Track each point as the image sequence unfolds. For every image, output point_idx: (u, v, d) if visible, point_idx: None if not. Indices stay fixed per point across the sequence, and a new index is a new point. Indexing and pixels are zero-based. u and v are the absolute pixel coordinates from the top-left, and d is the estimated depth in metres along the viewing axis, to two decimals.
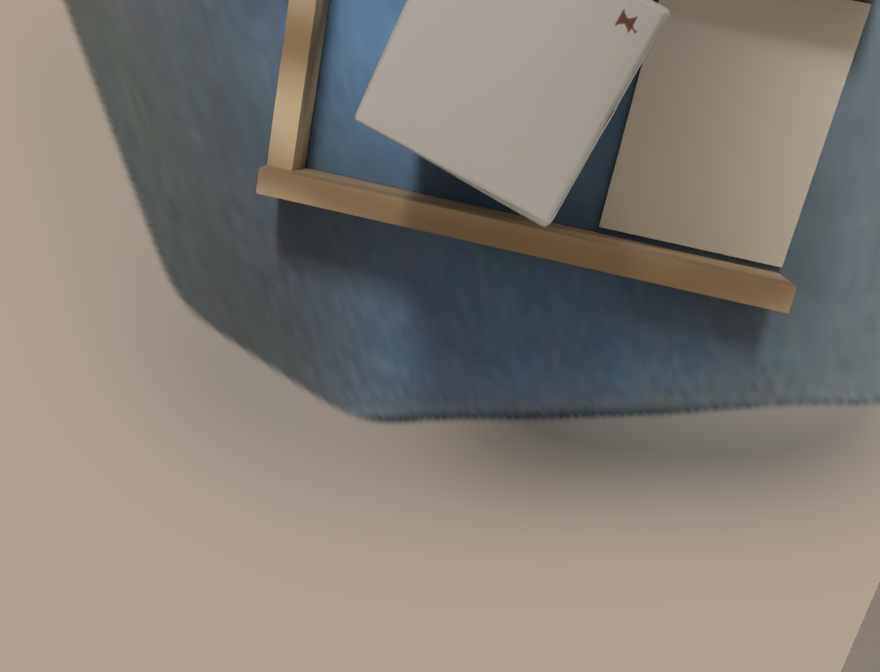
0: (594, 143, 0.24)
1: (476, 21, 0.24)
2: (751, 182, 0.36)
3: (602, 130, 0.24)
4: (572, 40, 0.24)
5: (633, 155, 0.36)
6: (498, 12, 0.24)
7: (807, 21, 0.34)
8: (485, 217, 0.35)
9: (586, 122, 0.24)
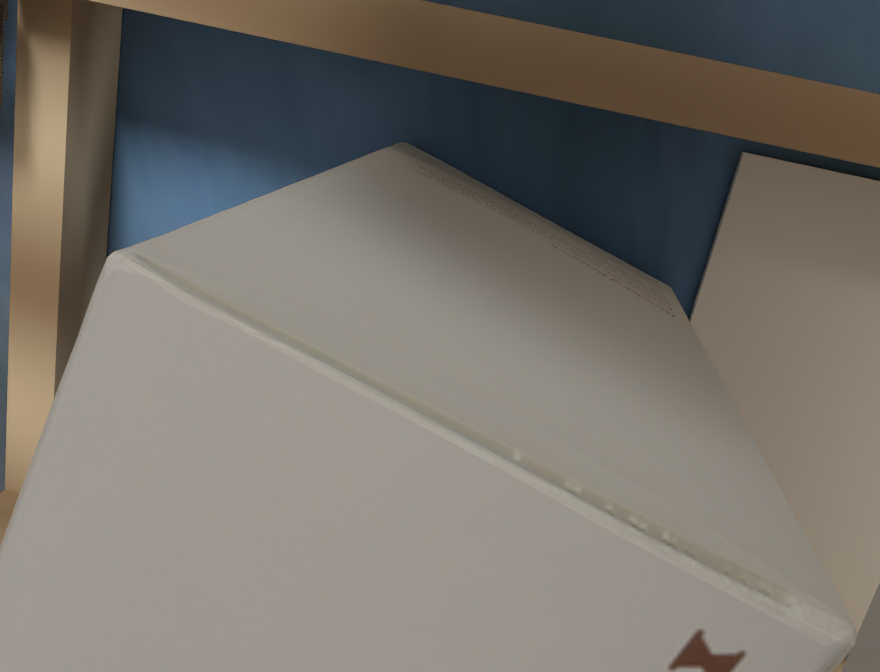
0: None
1: (215, 617, 0.07)
2: None
3: None
4: None
5: None
6: (283, 599, 0.07)
7: None
8: None
9: None
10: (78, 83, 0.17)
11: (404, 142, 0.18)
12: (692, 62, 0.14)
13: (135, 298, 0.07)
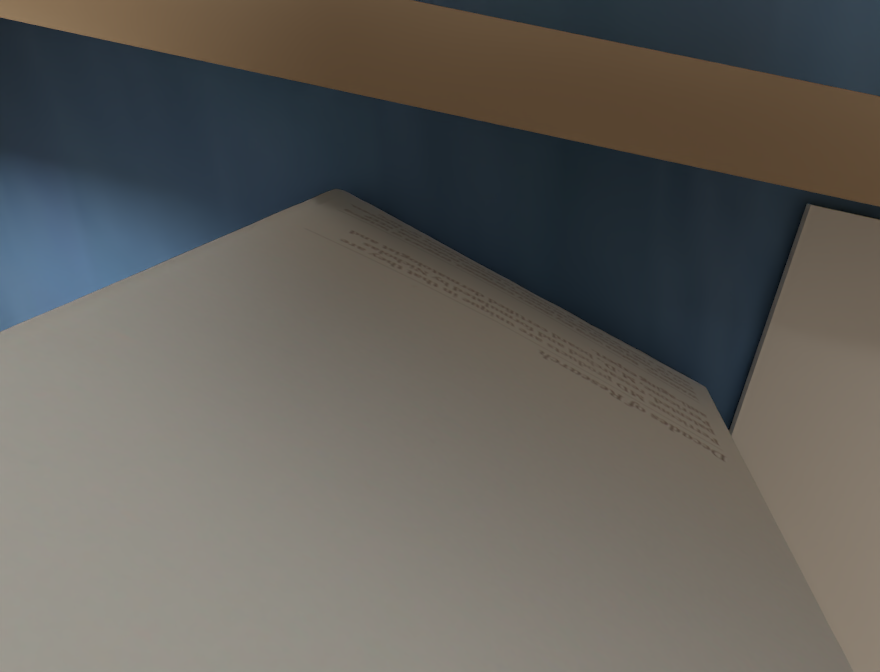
0: None
1: None
2: None
3: None
4: None
5: None
6: None
7: None
8: None
9: None
10: None
11: (339, 189, 0.13)
12: (754, 81, 0.09)
13: None
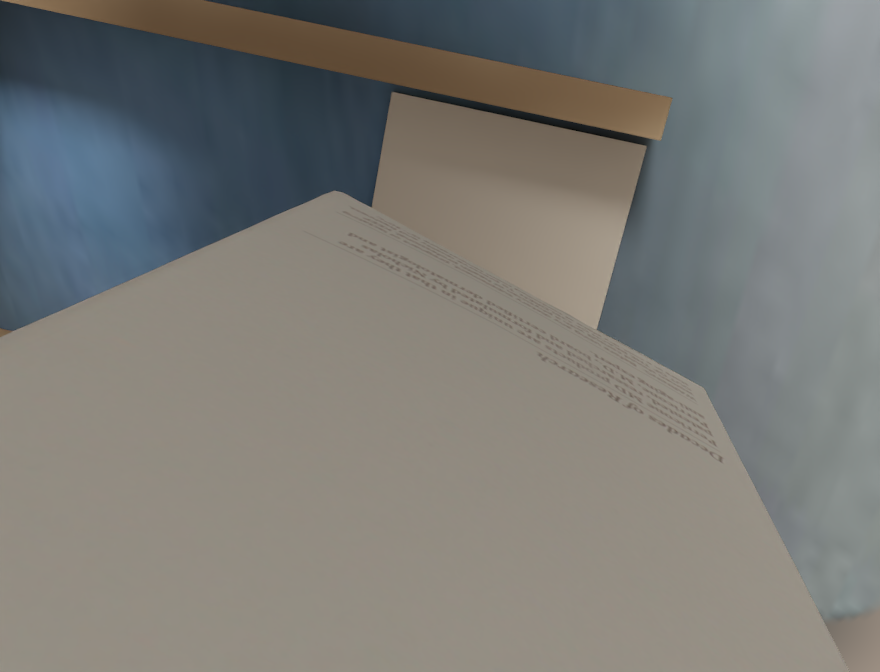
0: None
1: None
2: None
3: None
4: None
5: None
6: None
7: (568, 165, 0.26)
8: None
9: None
10: None
11: (337, 191, 0.13)
12: (316, 27, 0.23)
13: None
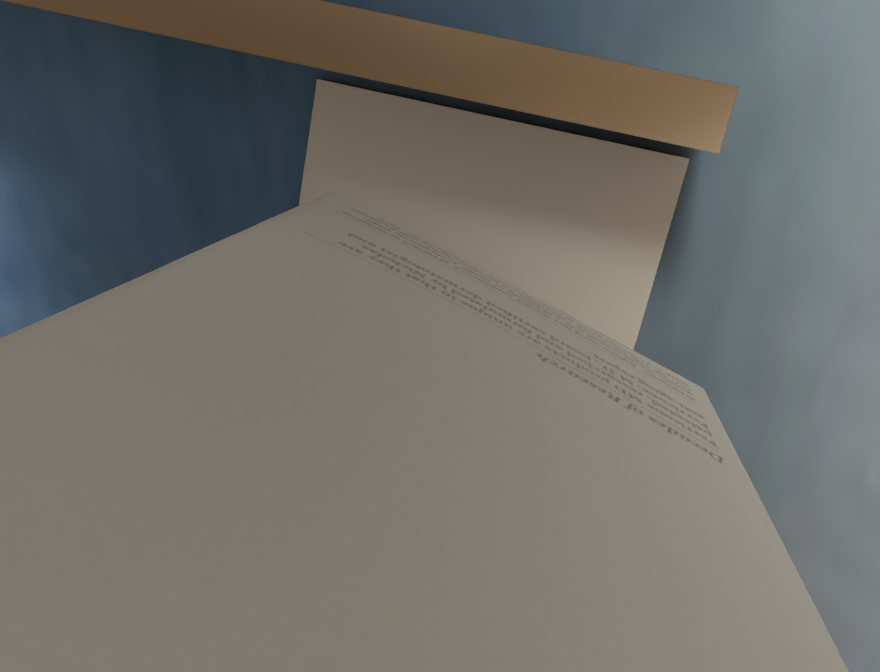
0: None
1: None
2: None
3: None
4: None
5: None
6: None
7: (574, 186, 0.18)
8: None
9: None
10: None
11: (337, 192, 0.13)
12: None
13: None
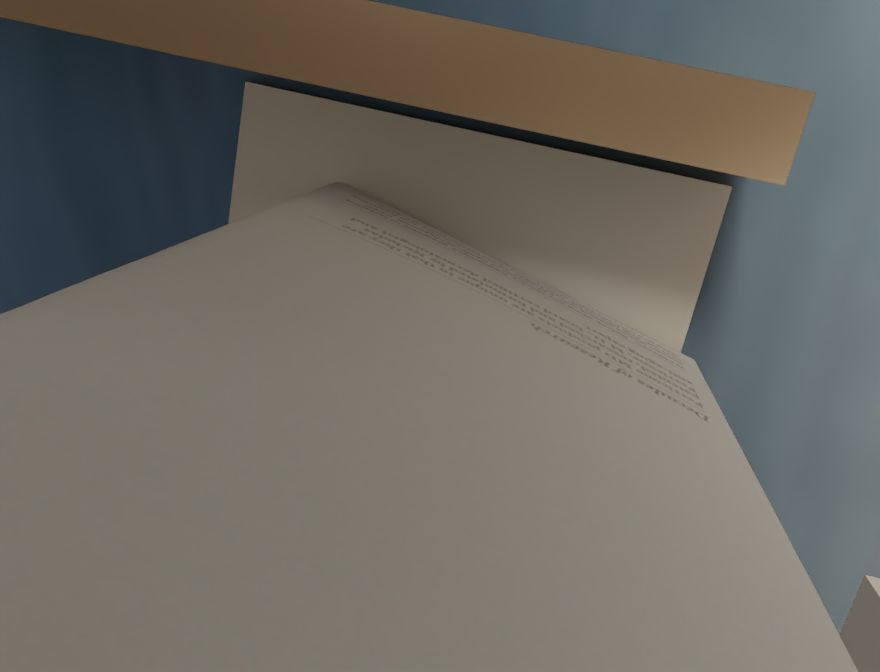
0: None
1: None
2: None
3: None
4: None
5: None
6: None
7: (580, 222, 0.14)
8: None
9: None
10: None
11: (340, 182, 0.14)
12: None
13: None
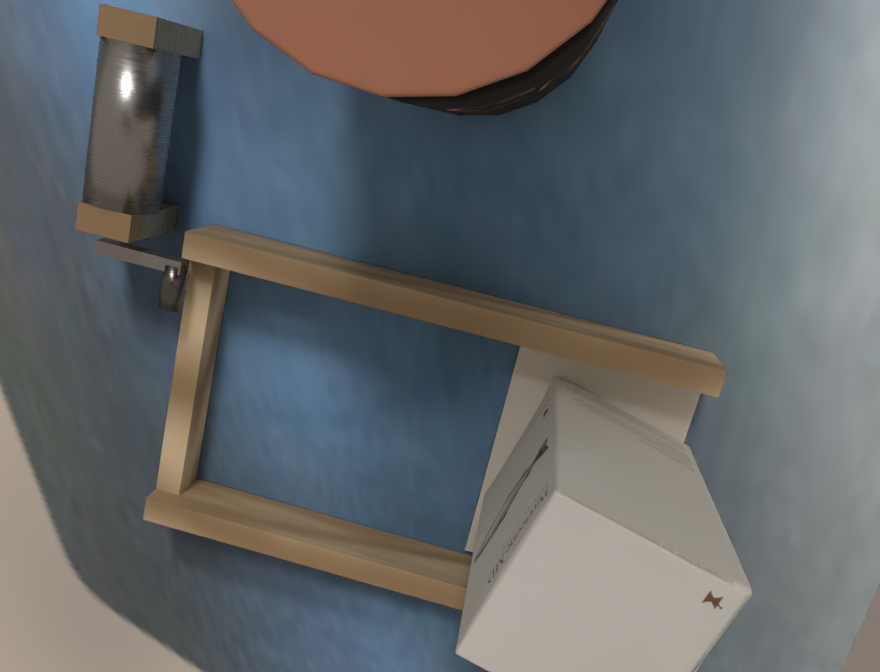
0: None
1: (573, 590, 0.26)
2: None
3: None
4: (662, 611, 0.26)
5: None
6: (594, 584, 0.26)
7: (647, 393, 0.37)
8: (352, 555, 0.38)
9: None
10: (213, 295, 0.37)
11: (557, 376, 0.37)
12: (483, 311, 0.34)
13: (561, 503, 0.25)
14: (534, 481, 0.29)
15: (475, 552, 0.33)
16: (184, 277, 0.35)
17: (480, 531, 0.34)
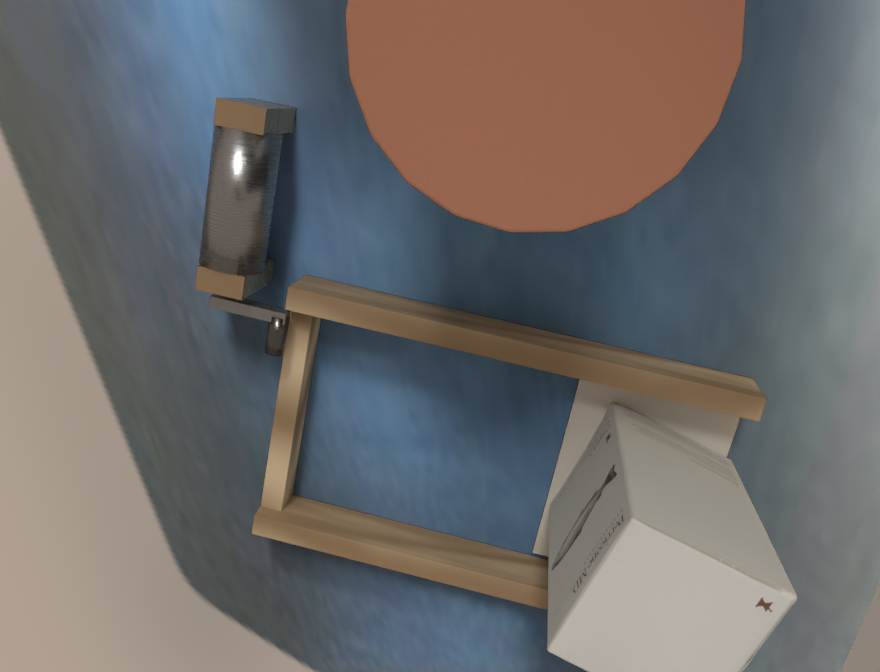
0: None
1: (647, 598, 0.31)
2: None
3: (743, 669, 0.32)
4: (721, 614, 0.31)
5: None
6: (664, 593, 0.31)
7: (694, 415, 0.42)
8: (437, 561, 0.43)
9: (732, 665, 0.32)
10: (310, 339, 0.42)
11: (614, 402, 0.42)
12: (552, 351, 0.39)
13: (637, 528, 0.30)
14: (607, 504, 0.34)
15: (551, 560, 0.38)
16: (287, 326, 0.41)
17: (553, 541, 0.40)
